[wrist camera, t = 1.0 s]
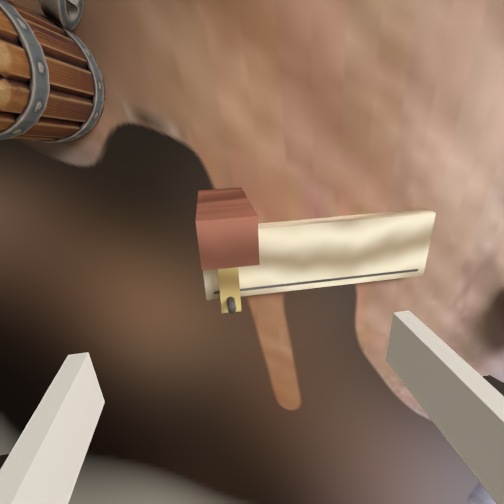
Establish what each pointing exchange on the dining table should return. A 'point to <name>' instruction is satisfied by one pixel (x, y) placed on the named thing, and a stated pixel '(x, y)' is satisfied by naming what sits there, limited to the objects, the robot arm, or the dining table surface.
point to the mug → (46, 74)
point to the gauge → (227, 239)
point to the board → (334, 252)
